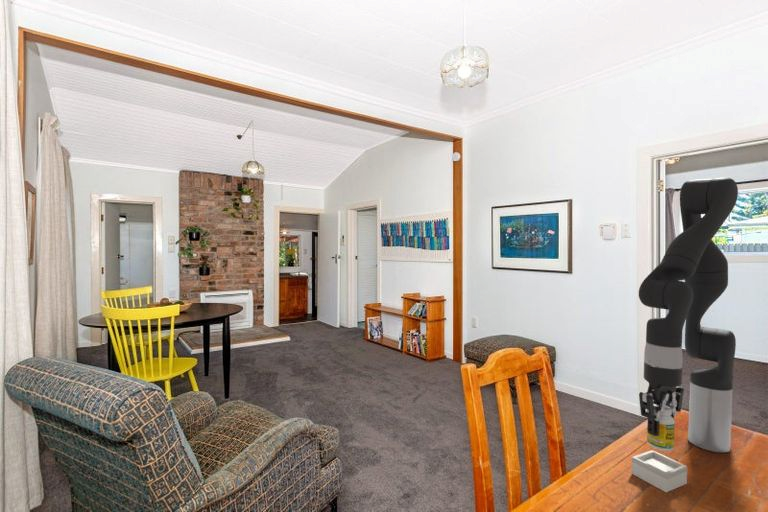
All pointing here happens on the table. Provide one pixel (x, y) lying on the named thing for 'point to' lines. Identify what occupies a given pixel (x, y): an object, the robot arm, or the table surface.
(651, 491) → the table surface
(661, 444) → the supplement bottle
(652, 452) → the grey open box
